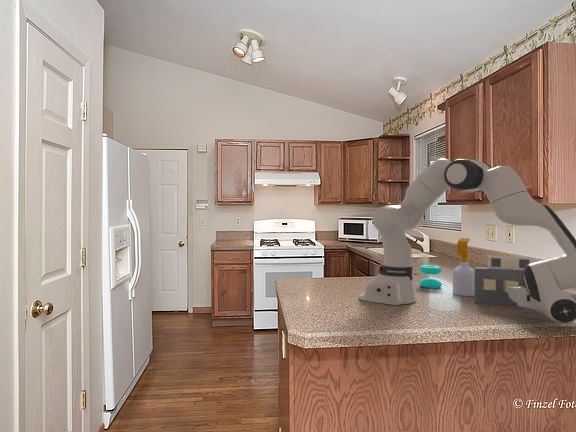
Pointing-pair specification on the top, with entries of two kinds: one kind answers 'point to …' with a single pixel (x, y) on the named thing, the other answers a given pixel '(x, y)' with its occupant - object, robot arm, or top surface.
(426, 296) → the top surface
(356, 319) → the top surface
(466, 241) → the soap bottle
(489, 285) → the button left
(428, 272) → the donuts
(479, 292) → the panel
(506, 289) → the button mid
